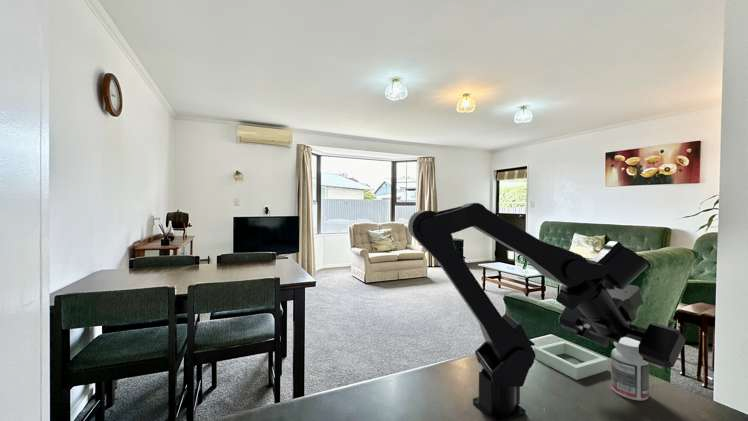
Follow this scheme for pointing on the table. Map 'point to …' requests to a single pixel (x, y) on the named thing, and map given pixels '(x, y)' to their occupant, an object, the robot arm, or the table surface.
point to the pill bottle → (629, 370)
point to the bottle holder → (579, 371)
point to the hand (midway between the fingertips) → (632, 354)
